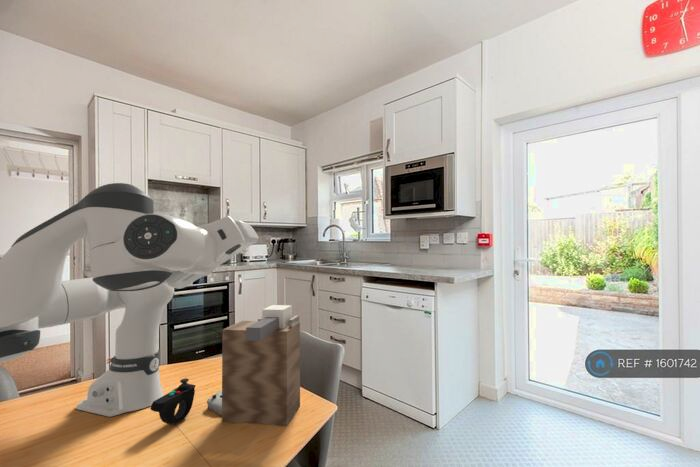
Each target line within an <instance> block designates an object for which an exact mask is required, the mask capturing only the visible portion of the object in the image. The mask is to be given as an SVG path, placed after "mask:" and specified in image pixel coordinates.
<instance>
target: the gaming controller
mask: <svg viewBox="0 0 700 467" xmlns="http://www.w3.org/2000/svg"><path fill="white" fill-rule="evenodd" d="M206 404H207V410H209V411H214V412H216V413H218V414H219V415H222V389H220V390H219V391H218V392H216V393H215V394H213V395H212V396H210V397H209V398H207V402H206Z"/></svg>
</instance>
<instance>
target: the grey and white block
mask: <svg viewBox="0 0 700 467" xmlns="http://www.w3.org/2000/svg"><path fill="white" fill-rule="evenodd" d="M261 310H262V315H261V317H262V320H260V321H258V320H257V321H258V322H256V323H254V324H252V325H250V326H248V327H246V340H249V341H261V340H262V339H264V338H265V337H267V336H268V335H270V334H271V333H273V332H275V331H276V330H278V329H284V328H285V327H287V326H288V325H289V320H290V319H291V318H293V305H290V304H289V305H288V304H279V305H278V304H272V305H270V306H267V307H264V308H263V309H261Z"/></svg>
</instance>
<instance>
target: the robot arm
mask: <svg viewBox="0 0 700 467" xmlns="http://www.w3.org/2000/svg"><path fill="white" fill-rule="evenodd" d="M154 208H155V207H154V200H153V199H152V198H151V197H150V196H149V195H148V194H147V193H146V192H145V191H144V190H142V189H140V188H139V187H137V186H135V185H133V184H129V183H123V182H122V183H121V182H114V183H107V184H103V185H100V186H98V187H97V188H94V189H93V190H91V191H90V192H89V193H88V194H87V195H85V196H84V197H82V199H80V201H78V202H77V203H76V204H74V205H72V206H70V207H68V208H66V209H65V210H63V211H61V212H60V213H58V214H56V215H54V216H52V217H50V218H49V219H47V220H46V221H44V222H42V223H40V224H38V225H36V226H35V227H33V228H31V229H30V230H28V231H26V232H24V233H23V234H22V235H20V236H19V237H18V238H17V239H16V240H15V241H14V242H13V244H12V245H11V246H10V248H9V249H8V250H7V251H6V252H5V253H4V255H3V256H0V363H7V362H10V361H14V360H16V359H19V358H21V357H23V356H25V355H27V353H29V352H31V351H33V350H34V349H35V348H36V347H38V345H39V343H40V339H41V330H40V329H46V328H51V327H57V326H58V327H59V326H62V325H68V324H71V323H75V322H80V321H85V320H89V319H94V318H98V317H100V316H102V315H103V314H107V313H109V312H112V311H115V310H119V309H125V310H124V314H123V317H122V320H121V323H120V325H118V326H117V328H116V329H115V346H114V348H115V349H114V356H113V357H110V358H108V359H106V364H109V363H110V366H109V368H108V369H107V370H106V371H105V372H104V373H102V374H101V375H100V376H99V377H97V378H96V379H95V380H94V381H93V382H91V383H90V385H89V387H88V389H87V396H86V397H85V398H84V399H82V400H81V401H79V402H78V404H76V408H75V409H76V410H79V411H82V412H83V411H84V412H87V413H92V414H95V415H100V416H104V417H116V416H117V415H121V414H122V415H123V414H124V413H128V412H129V413H131V412H134V411H137V410H138V411H139V410H142V409H145V408H147V407H151V405H152V403H153V401H155V400H157V399H159V398H161V397H162V396H164V395H165V394H164V391H163V387H162V384H161V376H160V363H161V350H160V348H159V340H160V339H159V338H160V334H159V333H160V324H161V320H162V316H163V314H164V310H165V308H166V306H167V305H168V304H169V303H170V302H171V300H173V298H174V294H175V289H176V290H177V289H178V290H179V289H180V290H181V289H184V288H186V287H188V286H189V285H191V284H193V283H194V282H195V281H198V280H199V279H201V278H203V277H208V276H210V275H211V274H213V273H214V271H215V270H216V269H217V268H218V267H219V266H221V265H222V264H224V263H225V262H228V261H229V260H230V259H232V258H234V257H235V256H236V255H238V254H242V255H243V254H245V253H246V252H248V248H249V247H251V246H253V245H254V244H256V243H257V242H258V241H259V239H260V238H259V235H258V234H257V232H256V230H255V229H254V228H253V227H252V226H251V225H250V224H249V223H246V222H244V221H242V220H234V219H233V217H231V216H227V215H226V216H224V217H221V218H220V219H217V220H214V221H211V222H210V223H209V222H208V223H206V224H201V225H198V226H196V225H195V224H194V223H192V222H190V221H187V220H185V219H182V218H180V217H177V216H173V215H169V214H164V213H163V214H162V213H155V212H154ZM86 237H87V239H88V240H87V241H88V249H89V251H88V252H89V253H88V255H89V256H88V257H89V264H90V265H89V266H90V273H91V277H84V278H77V279H76V278H75V279H67V280H63V273H64V267H65V264H66V259H67V257H68V253H69V252H70V249H71V248H72V247H73V246H74V244H76V243H77V242H79V241H80V240H82V239H84V238H86Z"/></svg>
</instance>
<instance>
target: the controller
mask: <svg viewBox="0 0 700 467" xmlns="http://www.w3.org/2000/svg"><path fill="white" fill-rule="evenodd" d="M180 383H181V384H180V385H179V386H178V387H176V388H174V389H172V390H171V391H170V392H168V393H166V394H164V396H162V397H161V398H159V399H157V400H155V401H153V403H152V405H150V410H151V411H152V412H155V413H158V415H159V418H160V420H161V421H162V422H163V423H164V424H168V425H177V424H179V423H181V422H183V421H184V420H185V419H186V418H187V416H188V415H189V413H190V412H191V409H192V407H193V404H194V403H193V402H194V397H195V392H196V390H195V389H196V385H195V384H191V383H189V378H187V377H186V378H182V379H180ZM177 407H178V409H177ZM176 409H177V410H176Z"/></svg>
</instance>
